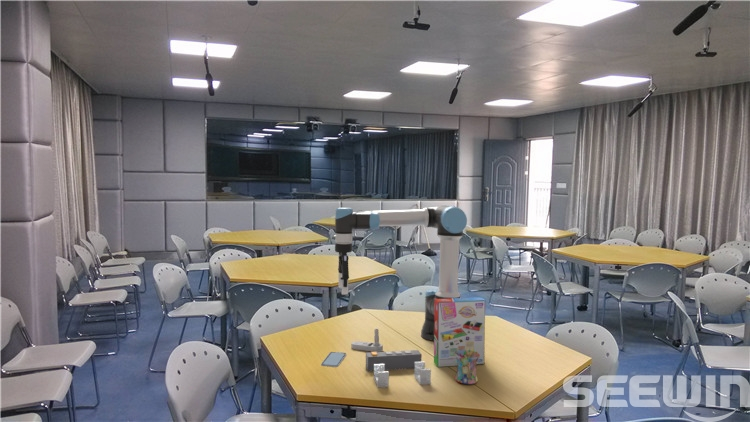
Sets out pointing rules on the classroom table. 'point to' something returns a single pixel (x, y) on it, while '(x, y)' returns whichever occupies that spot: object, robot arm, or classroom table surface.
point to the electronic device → (368, 344)
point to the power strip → (393, 359)
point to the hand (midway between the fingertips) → (343, 290)
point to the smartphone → (333, 359)
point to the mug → (466, 366)
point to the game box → (458, 329)
